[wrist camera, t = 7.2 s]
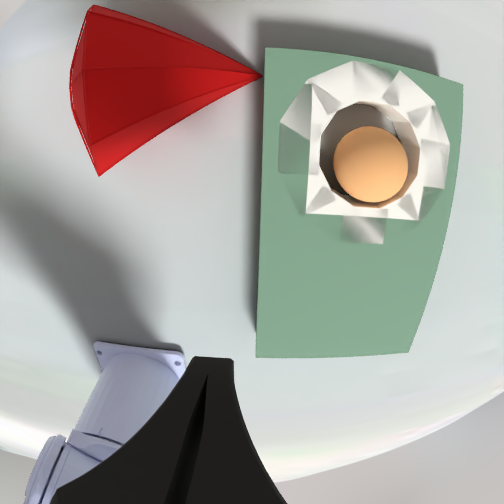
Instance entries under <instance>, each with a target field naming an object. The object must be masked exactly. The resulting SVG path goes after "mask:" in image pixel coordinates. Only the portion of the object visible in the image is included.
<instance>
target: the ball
mask: <svg viewBox="0 0 504 504" xmlns="http://www.w3.org/2000/svg"><path fill="white" fill-rule="evenodd" d="M333 165H334V171H335V175H336V177H337V180H338V182H339V183H340V185H341V186H342V188H343V189H344V190H345V191H346V192H347V193H348V194H350V195H351V196H353V197H354V198H356V199H359V200H361V201H365V202H380V201H384V200H387V199H389V198H391V197H392V196H394V195H395V194H396V193H397V192H398V191H399V190H400V189H401V188H402V186H403V184H404V182H405V180H406V177H407V173H408V159H407V155H406V152H405V150H404V148H403V146H402V144H401V143H400V142H399V140H398V139H397V138H396V137H395V136H393V135H392V134H391V133H389V132H388V131H386V130H384V129H381V128H378V127H372V126H366V127H360V128H357V129H354V130H352V131H350V132H349V133H347V134H346V135H345V136H344V137H343V138H342V139H341V140H340V142H339V143H338V145H337V147H336V150H335V153H334V160H333Z"/></svg>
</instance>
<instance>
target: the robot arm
mask: <svg viewBox="0 0 504 504" xmlns="http://www.w3.org/2000/svg"><path fill="white" fill-rule="evenodd" d="M93 348H94V351H95V353H96V356H97V359H98V361H99V364H100V367H101V369H102V374H101V376H100V378H99V380H98V382H97V384H96V386H95V388H94V390H93V392H92V394H91V396H90V398H89V400H88V402H87V404H86V406H85V408H84V410H83V412H82V414H81V416H80V418H79V420H78V423H77V425H76V427H75V429H73V430H72V432H71V434H70V436H69V439H68V441H67V443H66V442H65V440H66V438H65V437H64V436H62V435H60V434H59V435H57V436H53V437H49V439H48V440H47V442H46V443H45V445H44V447H43V449H42V451H41V453H40V455H39V457H38V459H37V461H36V464H35V466H34V468H33V471H32V473H31V476H30V478H29V481H28V484H27V487H26V491H25V496H26V497H25V501H24V504H287V503H286V501H285V500H284V498H283V497H282V495H281V494H280V493H279V491H278V489H277V488H276V486H275V485H274V483H273V481H272V479H271V478H270V476H269V474H268V473H267V471H266V469H265V467H264V465H263V464H262V462H261V460H260V458H259V456H258V454H257V451H256V449H255V447H254V445H253V443H252V440H251V438H250V435H249V433H248V430H247V428H246V425H245V422H244V419H243V416H242V413H241V410H240V406H239V402H238V398H237V394H236V390H235V384H234V361H233V360H232V359H230V358H214V357H199V356H195V357H193V358H192V360H191V361H190V363H189V365H188V367H187V368H186V366H185V360H184V355H183V354H182V353H180V352H178V351H168V350H159V349H150V348H141V347H133V346H126V345H119V344H112V343H105V342H99V341H96V342H95V343H94V345H93ZM100 351H101V352H100ZM177 361H179V362H177Z"/></svg>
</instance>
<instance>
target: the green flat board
mask: <svg viewBox="0 0 504 504" xmlns="http://www.w3.org/2000/svg"><path fill="white" fill-rule="evenodd" d="M354 103H357V104H364V105H371V106H374V107H375V108H376V109H377V110H379V111H380V112H381V113H382V114H384V115H385V116H386V117H387V118H388V119H390V120H391V121H392V123H393V125H394V128H395V130H396V133H397V135H398V137H399V140H400V142H401V144H402V146H403V148H404V150H405V152H406V155H407V159H408V173H407V177H406V180H405V182H404V184H403V186H402V188H401V189H400V190H399V191H398V192H397V193H396V194H395V195H394V196H392V197H391V198H389V199H387V200H384V201H380V202H365V201H361V200H359V199H356V198H354V197H353V196H350V195H341V194H340V193H339V192H337V191H336V190H334V189H333V188H331V187H330V186H329V185H328V182H327V180H326V178H325V176H324V174H323V172H322V170H321V168H320V166H319V158H320V141H321V134H322V133H323V131H324V130H325V128H326V127H327V125H328V124H329V122H330V121H331V119H332V118H333V116H334V115H335V113H336V112H337V111H338V110H340V109H343V108H345V107H347V106H350V105H352V104H354ZM462 113H463V84H460V83H457V82H454V81H451V80H448V79H445V78H442V77H439V76H436V75H433V74H429V73H426V72H422V71H419V70H415V69H411V68H407V67H403V66H399V65H395V64H391V63H386V62H382V61H377V60H372V59H367V58H361V57H355V56H349V55H343V54H336V53H328V52H320V51H311V50H300V49H286V48H265V59H264V102H263V140H262V176H261V209H260V240H259V270H258V299H257V326H256V358H329V357H354V356H371V355H385V354H397V353H407V352H409V350H410V347H411V345H412V342H413V339H414V337H415V334H416V332H417V329H418V326H419V324H420V321H421V318H422V315H423V312H424V309H425V306H426V303H427V300H428V297H429V294H430V291H431V288H432V284H433V281H434V278H435V274H436V271H437V267H438V263H439V260H440V256H441V252H442V248H443V244H444V240H445V236H446V231H447V227H448V222H449V217H450V212H451V207H452V201H453V196H454V190H455V183H456V176H457V169H458V161H459V152H460V142H461V130H462Z"/></svg>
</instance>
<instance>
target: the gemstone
mask: <svg viewBox="0 0 504 504" xmlns="http://www.w3.org/2000/svg"><path fill="white" fill-rule="evenodd" d="M90 10H91V11H90ZM88 13H89V14H88ZM85 20H86V23H85ZM84 23H85V26H84ZM83 26H84V29H83ZM82 30H83V32H82ZM81 33H82V36H81ZM80 37H81V39H80ZM79 40H80V42H79ZM78 44H79V45H78ZM77 47H78V49H77ZM76 51H77V52H76ZM72 69H73V71H72ZM261 77H263V75H261V74H259V73H257V72H256V71H254V70H252V69H250V68H248V67H246V66H245V65H243V64H241V63H239V62H237V61H235V60H233V59H232V60H231V58H230V59H229V57H227V56H225V55H223V54H221V53H220V54H219V52H217V51H215V50H213V49H211V48H209V47H207V46H205V45H203V44H200V43H198V42H196V41H194V40H192V39H189V38H187V37H185V36H182V35H180V34H178V33H175V32H173V31H170V30H168V29H166V28H163V27H160V26H158V25H155V24H153V23H150V22H147V21H144V20H142V19H139V18H136V17H133V16H130V15H127V14H124V13H121V12H118V11H115V10H111V9H108V8H105V7H101V6H98V5H94V4H93V5H92V6H91V7H90V8H89V9H88V10H87V13H86V16H85V19H84V22H83V25H82V28H81V31H80V35H79V38H78V42H77V45H76V49H75V53H74V56H73V60H72V64H71V69H70V83H69V89H70V101H71V108H72V112H73V115H74V119H75V121H76V124H77V126H78V129H79V131H80V134H81V136H82V139H83V141H84V144H85V146H86V149H87V151H88V153H89V156H90V158H91V160H92V163H93V165H94V167H95V170H96V172H97V174H98V176H101V175H102V174H103V173H105V172H106V171H107V170H109V169H110V168H111V167H113V166H114V165H115V164H117V163H118V162H119V161H121V160H122V159H124V158H125V157H126V156H128V155H129V154H131V153H132V152H133V151H135V150H136V149H138V148H139V147H141V146H142V145H144V144H145V143H147V142H148V141H150V140H151V139H153V138H154V137H156V136H157V135H159V134H160V133H162V132H164V131H165V130H167V129H168V128H170V127H171V126H173V125H175V124H176V123H178V122H180V121H181V120H183V119H185V118H186V117H188V116H190V115H191V114H193V113H195V112H196V111H198V110H200V109H202V108H203V107H205V106H207V105H209V104H211V103H212V102H214V101H216V100H218V99H220V98H222V97H223V96H225V95H227V94H229V93H231V92H233V91H235V90H237V89H239V88H241V87H243V86H245V85H247V84H249V83H251V82H253V81H255V80H257V79H259V78H261ZM71 80H72V84H71ZM71 86H72V90H71ZM72 96H73V102H72ZM210 102H211V103H210ZM73 107H74V108H73ZM79 126H80V127H79ZM80 128H81V129H80ZM81 130H82V132H81ZM82 133H83V135H84V137H83V135H82ZM84 138H85V140H86V142H85V140H84ZM86 143H87V145H88V147H87V145H86ZM88 148H89V150H90V152H89V150H88ZM90 153H91V155H92V157H93V159H92V157H91V155H90ZM93 161H94V162H93ZM98 171H99V172H98Z"/></svg>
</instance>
